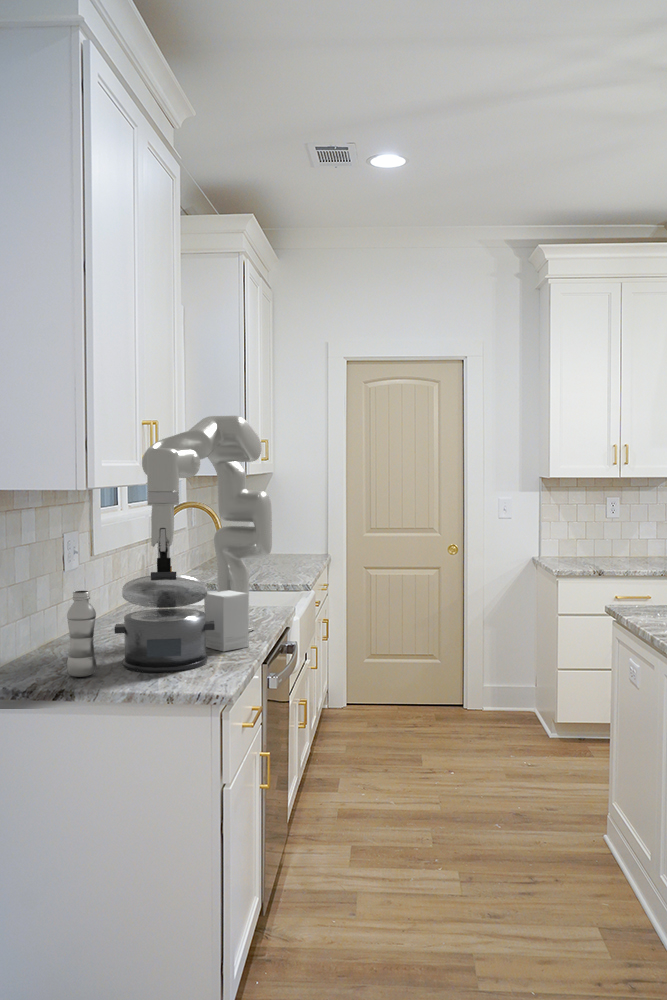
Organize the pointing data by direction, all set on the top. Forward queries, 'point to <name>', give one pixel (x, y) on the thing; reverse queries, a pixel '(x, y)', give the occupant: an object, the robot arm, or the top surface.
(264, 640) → the top surface
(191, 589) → the lid
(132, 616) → the pressure cooker
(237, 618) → the supplement box
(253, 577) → the top surface
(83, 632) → the plastic bottle
